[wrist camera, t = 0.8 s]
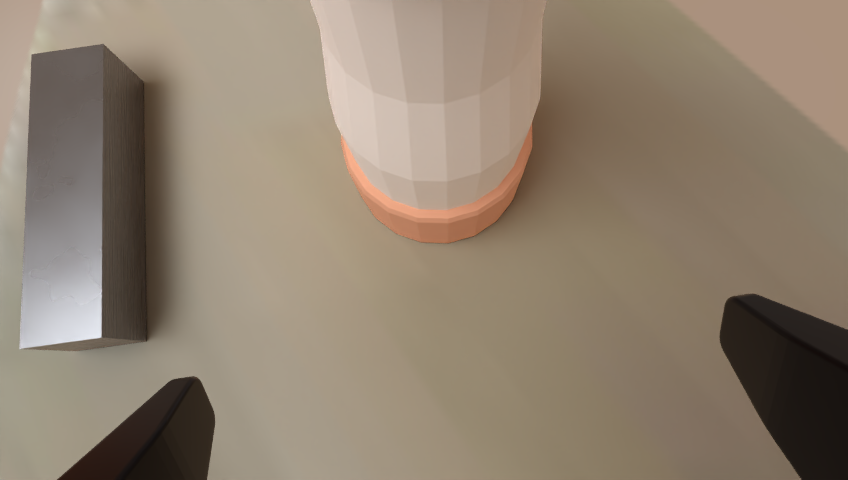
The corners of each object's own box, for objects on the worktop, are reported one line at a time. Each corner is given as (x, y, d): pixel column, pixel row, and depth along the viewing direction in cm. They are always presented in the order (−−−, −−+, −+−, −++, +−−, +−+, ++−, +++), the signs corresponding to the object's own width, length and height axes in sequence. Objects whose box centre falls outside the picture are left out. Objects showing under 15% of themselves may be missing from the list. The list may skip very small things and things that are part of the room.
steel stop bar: (146, 341, 22) (101, 337, 19) (75, 351, 22) (19, 348, 20) (143, 81, 25) (103, 44, 22) (79, 90, 25) (31, 54, 22)
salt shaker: (441, 57, 25) (424, -875, 6) (556, 165, 23) (984, -621, 5) (321, 160, 24) (-125, -568, 5) (433, 279, 22) (364, -141, 4)
